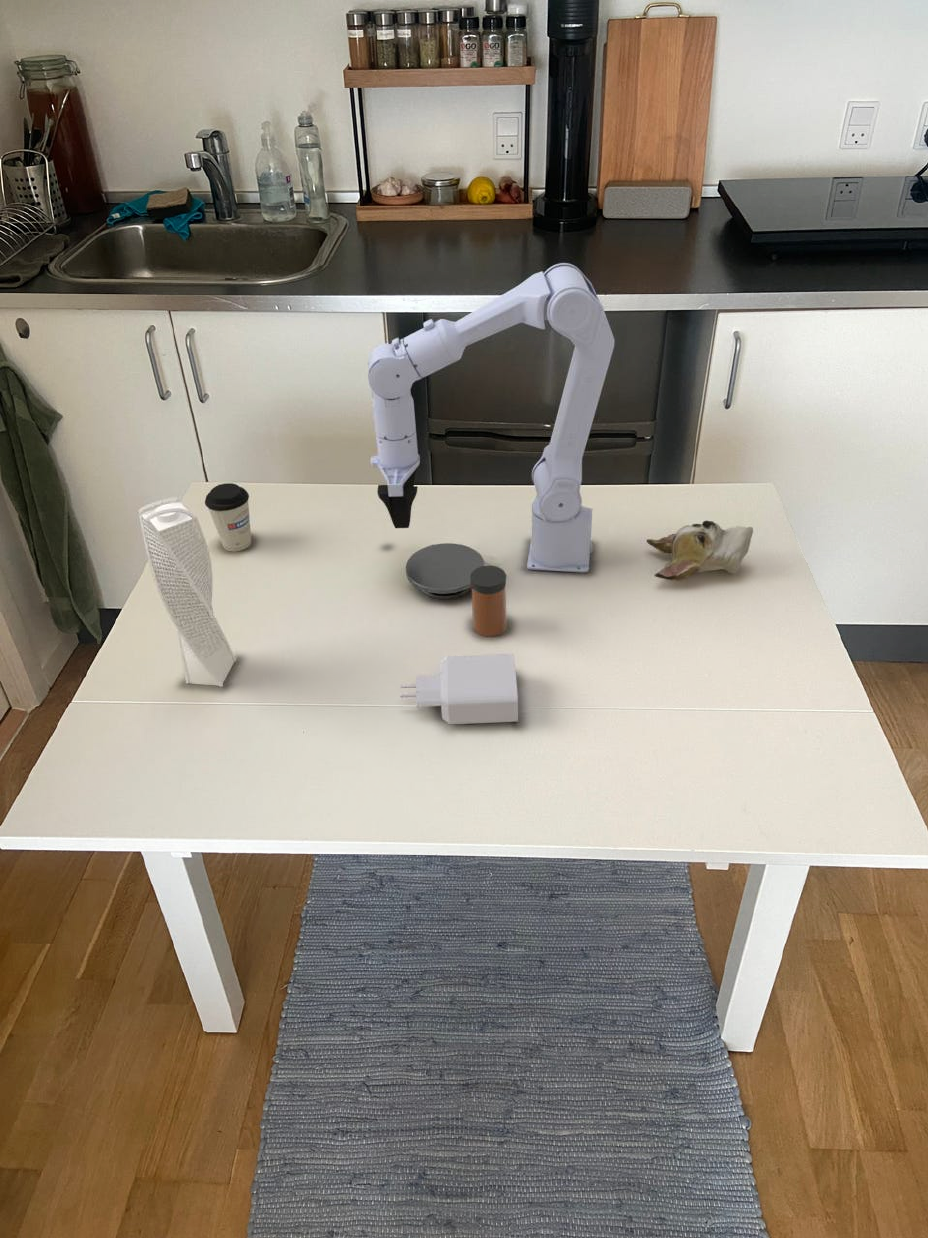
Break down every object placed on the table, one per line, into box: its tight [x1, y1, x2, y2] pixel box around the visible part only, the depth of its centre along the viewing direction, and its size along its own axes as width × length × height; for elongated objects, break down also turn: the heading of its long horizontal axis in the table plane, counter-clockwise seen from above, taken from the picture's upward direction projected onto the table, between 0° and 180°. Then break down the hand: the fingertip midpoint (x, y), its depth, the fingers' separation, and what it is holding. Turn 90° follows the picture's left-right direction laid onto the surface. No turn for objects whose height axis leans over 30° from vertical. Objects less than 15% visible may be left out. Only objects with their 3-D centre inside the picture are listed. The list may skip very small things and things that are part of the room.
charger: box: [399, 653, 519, 725], centre depth 121 cm, size 5×9×15 cm
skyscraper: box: [137, 496, 237, 688], centre depth 120 cm, size 8×8×28 cm
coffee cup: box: [204, 482, 252, 552], centre depth 151 cm, size 7×7×10 cm
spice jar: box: [470, 565, 507, 637], centre depth 132 cm, size 5×5×9 cm
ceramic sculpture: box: [646, 520, 754, 582], centre depth 141 cm, size 11×9×15 cm
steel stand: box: [405, 542, 486, 600], centre depth 142 cm, size 12×12×3 cm
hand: (403, 512), depth 140 cm, fingers open, 7 cm apart
